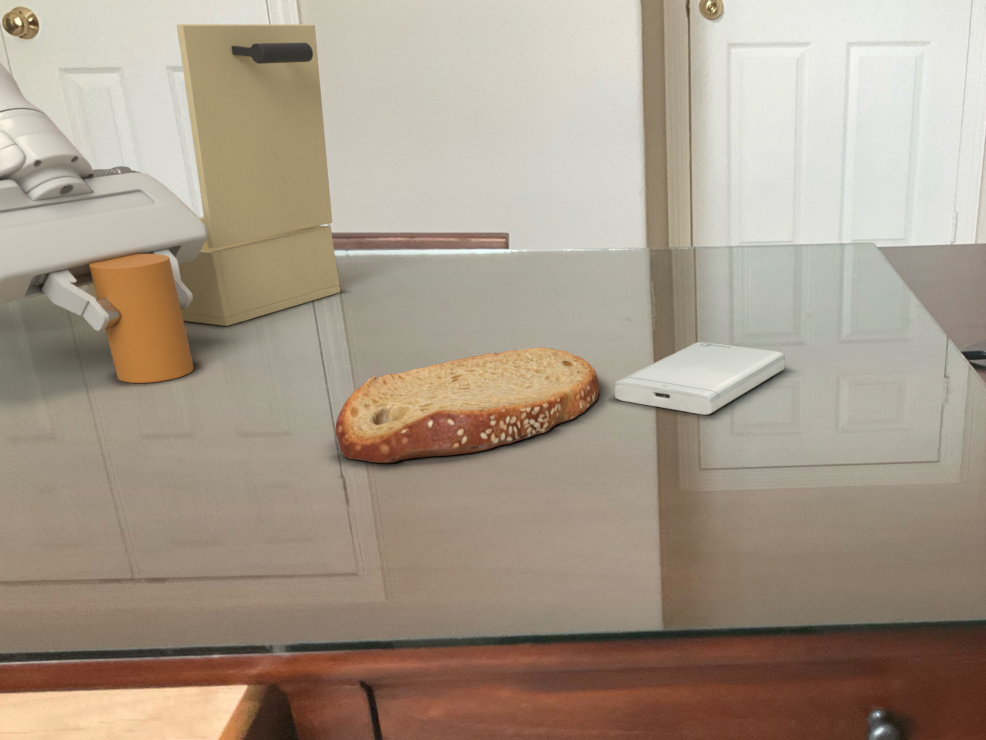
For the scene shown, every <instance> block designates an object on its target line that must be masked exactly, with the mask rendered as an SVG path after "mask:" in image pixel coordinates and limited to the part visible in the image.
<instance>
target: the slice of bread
mask: <svg viewBox="0 0 986 740" xmlns="http://www.w3.org/2000/svg"><path fill="white" fill-rule="evenodd" d="M599 394H600V383H599V378H598V374H597V372H596V370H595V368H594V367H593V366H592V365H591V364H590V363H589V362H588V361H587V360H585V359H584V358H582V357H581V356H578V355H575V354H573V353H570V352H568V351H566V350H561V349H554V348H550V347H549V348H548V347H541V346H540V347H531V348H523V349H512V350H507V351H506V350H505V351H502V352H498V353H497V352H493V353H490V352H488V353H485V354H482V355H481V354H480V355H473V356H468V357H463V358H458V359H453V360H447V361H445V362H442V363H440V364H432V365H429V366H426V367H417V368H414V369H410V370H408V371H402V372H398V373H390V374H389V373H387V374H384V375H381V376H378V377H377V374H375V375H374V376H371V377H369V379H368V380H367V381H365V383H364V384H363V385H361V386H360V387H357V388H356V390H355V389H354V391H353V392H352V394H351V395H349V397H348V398H347V399H346V401H345V402H344V404H343V405H342V408H341V410H340V412H339V414H338V416H337V418H336V422H335V429H334V431H335V436H336V439H337V442H338V445H339V450H340V452H341V454H342V455H343V456H344V457H345V458H348V459H350V460H358V461H364V462H370V463H379V464H392V463H396V462H399V461H402V460H403V461H404V460H409V459H417V458H418V459H419V458H426V457H427V458H428V457H443V456H444V457H445V456H446V457H447V456H455V455H463V454H472V453H478V452H479V453H480V452H483V451H487V450H491V449H493V448H496V447H499V446H505V445H510V444H514V443H515V442H518V441H522V440H526V439H529V438H531V437H533V436H538V435H540V434H545V433H547V432H548V431H550V429H552V428H553V427H555V426H556V425H558V424H562V423H564V422H568V421H571V420H573V419H575V418H576V417H578V416H579V415H582V414H584V413H585V412H586V411H587V409H588V408H590V406H592V405H593V404H594V403H595V402H596V401H597V400H598V397H599Z"/></svg>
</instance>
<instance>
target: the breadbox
mask: <svg viewBox="0 0 986 740" xmlns="http://www.w3.org/2000/svg"><path fill="white" fill-rule="evenodd" d="M198 217H199V216H198ZM199 218H200V219H201V220H202V222H203V223H204V224H205V221H204V216H200V217H199ZM178 266H179V271H180V276H181V281H182V282H183V284H184V285H185V286H186V287H187V288H188V289H189V290H190V292H191V293H192V295H193V300H192V301H191V303H190V305H189V307H187V308H184V309H181V313H182V317H183V322H189V323H190V322H191V323H198V324H207V325H213V326H222V327H230V326H232V325H236V324H239V323H242V322H245V321H246V322H247V321H249V320H252V319H255V318H259V317H262V316H266V315H269V314H272V313H276V312H279V311H283V310H285V309H289V308H292V307H295V306H299V305H303V304H306V303H309V302H313V301H317V300H319V299H323V298H325V297H330V296H333V295H336V294H340V293H341V286H340V278H339V272H338V267H337V266H338V265H337V260H336V254H335V247H334V240H333V234H332V228H331V225H319V226H315V227H310V228H305V229H301V230H296V231H292V232H287V233H282V234H278V235H273V236H269V237H264V238H260V239H255V240H250V241H246V242H241V243H237V244H232V245H228V246H223V247H218V248H209V247H208V242H207V239H206V241H205V243H204V245H203V247H202V249H201V251H200V252H199V254H198V256H197V257H196V259H194V260H193V261H190V262H186V263H182V264H178ZM87 288H88V289H87V290H88V292H89V293H88V294H90V295H91V296H93V297H95V298H96V299H97V295H96V291H95V287H94V283H93V284H88V285H87Z"/></svg>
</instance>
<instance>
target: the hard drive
mask: <svg viewBox="0 0 986 740" xmlns="http://www.w3.org/2000/svg"><path fill="white" fill-rule="evenodd" d="M785 367H786V356H785V354H784V353H783V352H782V351H781V352H780V351H777V350H769V349H761V348H754V347H748V346H747V347H746V346H738V345H731V344H722V343H715V342H708V341H707V342H706V341H697V342H695V343H693V344H690V345H689V346H686V347H685V348H683V349H681V350H678V351H676V352H675V353H672V354H670V355H668V356H665V357H664V358H662V359H660V360H658V361H656V362H654V363H651V364H650V365H647V366H645V367H643V368H641V369H639V370H637V371H634V372H633V373H631V374H628V375H627V376H624V377H623V378H621V379H619V380H617V381H615V382H614V387H613V388H614V398H615V399H617V400H619V401H621V402H628V403H632V404H639V405H644V406H652V407H658V408H662V409H669V410H673V411H674V410H675V411H680V412H686V413H690V414H697V415H703V416H706V415H710V414H713V413H714V412H716V411H717V410H718V409H721V408H722V407H724V406H726V405H727V404H729V403H731V402H732V401H733V400H736V399H737V398H739V397H740V396H742V395H744V394H745V393H747V392H749V391H751V390H752V389H754V388H756V387H757V386H759V385H761V384H762V383H764V382H765V381H767V380H769V379H770V378H772V377H773V376H775V375H777V374H778V373H780V372H782V371H783V370H784V369H785Z"/></svg>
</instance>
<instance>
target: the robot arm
mask: <svg viewBox="0 0 986 740" xmlns="http://www.w3.org/2000/svg"><path fill="white" fill-rule="evenodd" d="M206 239H207V229H206V226H205V224H204V223H203V222H202V220H201V219H200V218H199V216H198V215H197V213H195V212H194V211H193V210H192V209H191V208H190V207H189V206H188V205H187V204H186V203H185V202H184V201H183V200H181V198H179V196H178V195H176V194H175V193H174V192H173V191H172V190H171V189H170V188H168V187H167V186H166V185H165V184H164V183H162V182H161V181H159V180H158V179H156V178H155V177H153V176H151V175H149V174H148V173H142V172H140V171H137V170H132V169H131V168H130V167H129V166H123V165H120V166H115V167H112V168H97V169H95V168H94V169H93V167H92V165H91V163H90V161H88V159H86V157H85V156H84V155H83V154H82V153H81V152H80V150H79V149H78V148H77V147H76V146H75V145H74V143H72V141H71V140H70V139H69V138H68V137H67V135H66V134H64V133H63V131H62V130H61V129H60V128H59V127H58V126H57V125H56V123H55V122H54V121H53V120H52V119H51V118H50V116H48V115H47V114H46V112H44V111H43V110H42V109H41V108H39V107H38V106H36V105H34V104H33V103H31V102H30V101H29V100H28V99H27V98H26V97H25V95H24V94H23V93H22V91H21V88H20V86H19V84H18V82H17V80H16V79H15V77H14V76H13V75H12V74H11V73H10V72H9V70H8V69H7V68H6V67H5V66H4V65H3V64H2V63H1V62H0V305H3V304H8V303H13V302H18V301H22V300H26V299H30V298H34V297H39V296H43V295H45V296H46V297H47V298H48V299H49V301H51V303H52V304H54V305H55V306H58V307H60V308H62V309H64V310H67V311H68V312H71V313H73V314H75V315H77V316H79V317H82V318H83V319H84V320H85V321H86V322H87V323H88V324H89V326H91V327H92V329H93V330H94V331H96V332H101V331H104V330H105V329H109V328H113V327H115V326H116V325H117V322H118V321H119V320H120V313H119V311H118V310H117V309H116V308H115V307H112V303H111V302H110V301H109V300H108V299H107V298H106V297H105V298H101V299H96V298H95V297H93V296H91V295H90V293H88V292H86V291H85V290H83V289H81V288H80V287H83V286H88V284H93V279H92V275H91V271H90V267H89V264H90V263H95V262H100V261H105V260H110V259H115V258H119V257H124V256H129V255H134V254H160V255H166V256H168V257H169V258H170V263H171V267H172V272H173V276H174V281H175V285H176V290H177V295H178V299H179V304H180V308H181V309H184V308H187V307H189V305H190V303H191V301H192V300H193V295H192V293H191V292H190V290H189V289H188V288H187V287H186V286H185V285H184V284H183V282H182V281H181V276H180V271H179V266H178V264H182V263H186V262H190V261H193V260H194V259H196V257H197V256H198V254H199V252H200V251H201V249H202V247H203V245H204V243H205V241H206ZM105 331H106V330H105Z"/></svg>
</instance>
